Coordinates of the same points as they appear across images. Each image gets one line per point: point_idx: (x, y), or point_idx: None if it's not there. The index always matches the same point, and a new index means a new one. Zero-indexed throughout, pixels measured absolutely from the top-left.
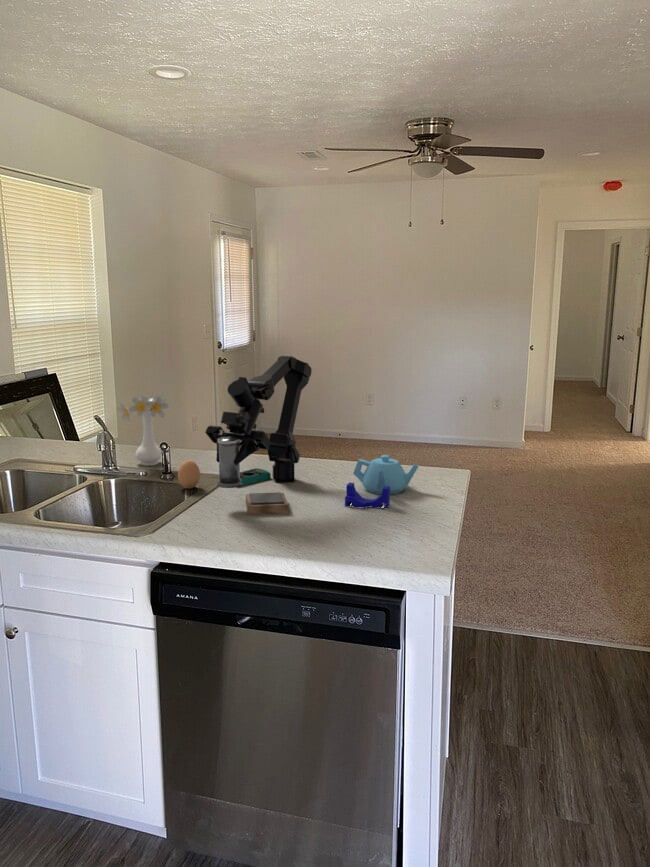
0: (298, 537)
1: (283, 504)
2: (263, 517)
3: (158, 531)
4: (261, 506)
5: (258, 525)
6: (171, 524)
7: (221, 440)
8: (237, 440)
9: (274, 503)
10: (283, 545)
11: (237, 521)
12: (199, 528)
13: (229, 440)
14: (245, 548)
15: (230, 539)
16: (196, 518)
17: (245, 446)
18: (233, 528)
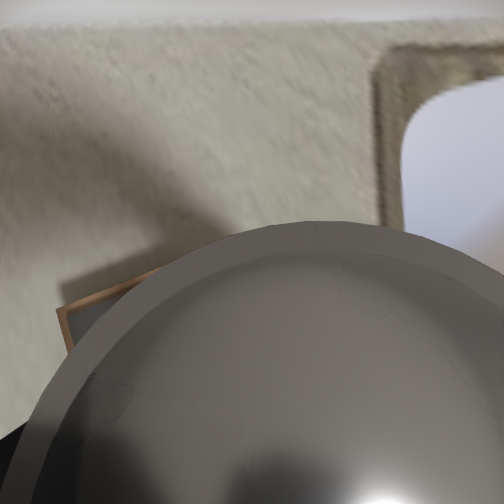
0: (22, 136)
1: (70, 306)
2: (140, 252)
3: (364, 87)
4: (140, 275)
5: (137, 188)
6: (359, 138)
7: (467, 335)
8: (25, 453)
9: (99, 303)
10: (49, 83)
11: (201, 203)
12: (277, 130)
13: (249, 388)
14: (128, 48)
15: (177, 85)
16: (318, 196)
17: (5, 443)
18: (194, 152)
